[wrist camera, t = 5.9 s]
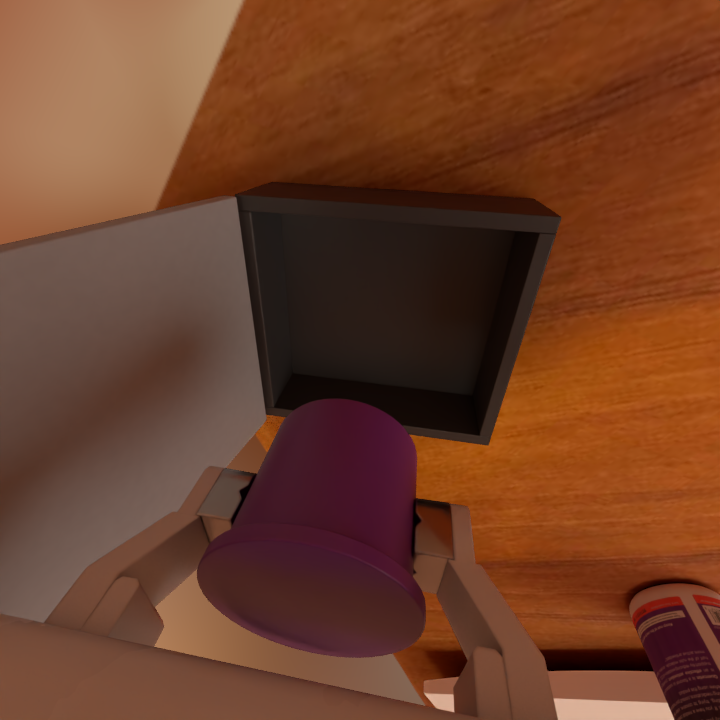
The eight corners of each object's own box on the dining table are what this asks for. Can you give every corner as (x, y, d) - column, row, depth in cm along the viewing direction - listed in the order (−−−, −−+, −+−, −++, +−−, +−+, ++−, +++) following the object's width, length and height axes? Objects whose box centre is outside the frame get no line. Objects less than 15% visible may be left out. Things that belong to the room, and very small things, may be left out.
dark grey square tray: (534, 198, 19) (562, 216, 15) (479, 398, 26) (488, 445, 22) (271, 181, 21) (234, 194, 17) (287, 374, 28) (264, 414, 24)
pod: (261, 380, 11) (170, 520, 7) (438, 402, 11) (444, 568, 7) (276, 490, 14) (217, 633, 10) (415, 513, 14) (410, 673, 10)
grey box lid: (-559, 384, 4) (-645, 311, 5) (7, 724, 11) (-85, 660, 13) (237, 196, 16) (154, 187, 18) (267, 420, 24) (207, 402, 25)
